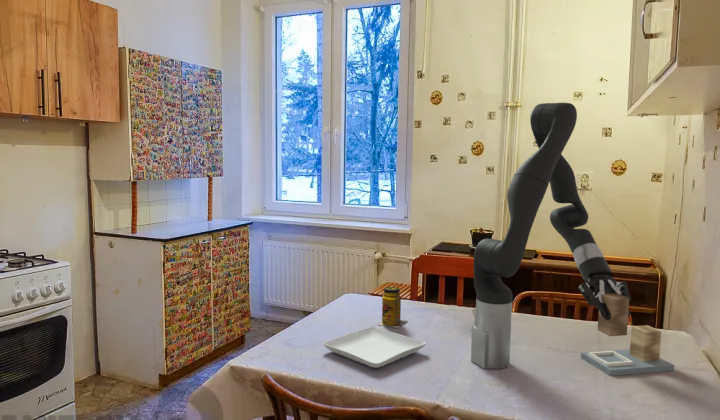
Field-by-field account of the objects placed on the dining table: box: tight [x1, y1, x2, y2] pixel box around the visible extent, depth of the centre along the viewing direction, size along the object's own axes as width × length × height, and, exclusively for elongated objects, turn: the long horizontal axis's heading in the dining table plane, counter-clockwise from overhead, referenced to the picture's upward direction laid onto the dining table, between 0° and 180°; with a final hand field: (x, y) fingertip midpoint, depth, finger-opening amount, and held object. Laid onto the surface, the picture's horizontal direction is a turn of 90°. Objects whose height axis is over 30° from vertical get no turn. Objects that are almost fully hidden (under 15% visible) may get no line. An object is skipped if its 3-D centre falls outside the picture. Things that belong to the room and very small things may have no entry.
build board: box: [580, 348, 676, 377], centre depth 138 cm, size 19×12×2 cm, turn 101°
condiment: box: [377, 286, 408, 329], centre depth 169 cm, size 7×8×12 cm
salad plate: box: [322, 326, 427, 368], centre depth 143 cm, size 21×21×3 cm
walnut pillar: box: [597, 292, 630, 337], centre depth 136 cm, size 5×5×10 cm
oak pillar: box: [629, 324, 662, 362], centre depth 139 cm, size 5×5×8 cm
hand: (617, 317), depth 134 cm, fingers closed on walnut pillar, 5 cm apart
